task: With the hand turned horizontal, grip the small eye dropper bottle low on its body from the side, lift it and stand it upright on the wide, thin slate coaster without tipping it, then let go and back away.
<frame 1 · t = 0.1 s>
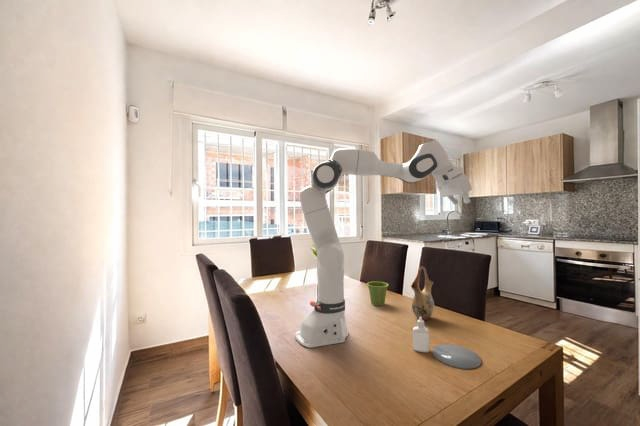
hand: (461, 203, 110), 54 cm above the table, tool tilted 30°, fingers open, 8 cm apart
plant pot: (378, 304, 147), on the table
ceramic vessel: (423, 319, 125), on the table
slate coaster: (456, 356, 91), on the table
eye dropper bottle: (421, 350, 96), on the table
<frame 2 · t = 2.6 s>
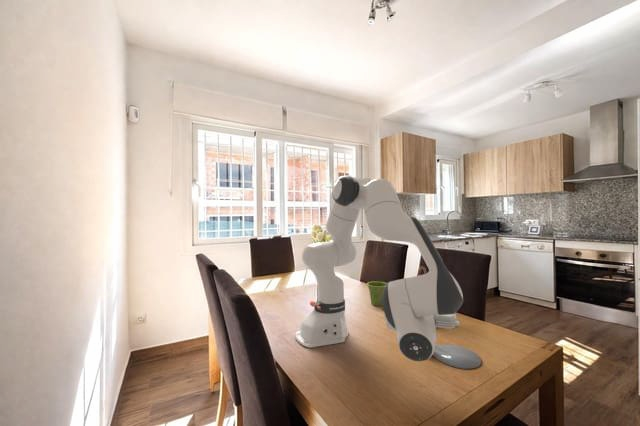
hand: (419, 305, 85), 20 cm above the table, tool horizontal, fingers open, 8 cm apart
nothing on the table moved.
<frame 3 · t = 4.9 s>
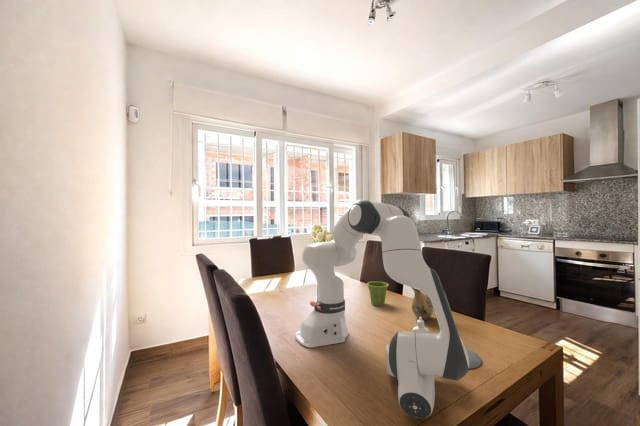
hand: (419, 346, 88), 5 cm above the table, tool horizontal, fingers open, 8 cm apart
nothing on the table moved.
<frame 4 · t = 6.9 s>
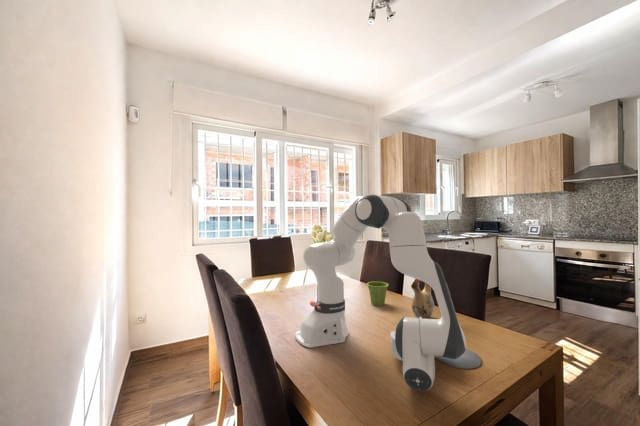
hand: (420, 333, 97), 6 cm above the table, tool horizontal, fingers open, 6 cm apart
eye dropper bottle: (421, 350, 96), on the table, touching gripper
everything else where it was.
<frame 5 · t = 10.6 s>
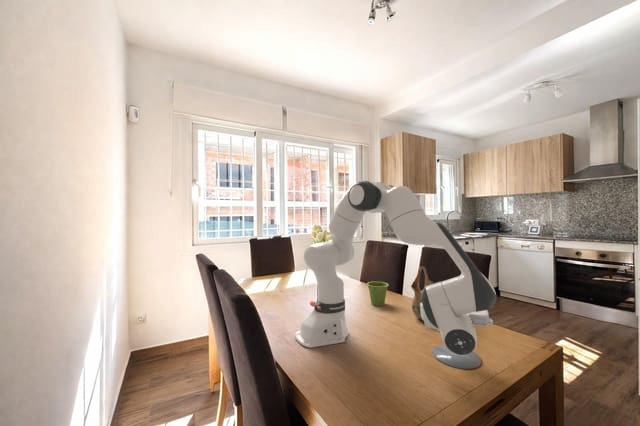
hand: (451, 305, 93), 17 cm above the table, tool horizontal, fingers closed on eye dropper bottle, 5 cm apart
eye dropper bottle: (453, 326, 91), point 11 cm above the table, touching gripper
everything else where it was.
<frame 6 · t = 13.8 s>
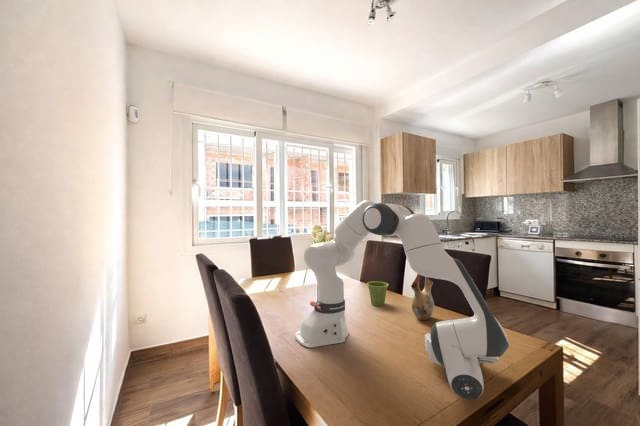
hand: (456, 336, 92), 7 cm above the table, tool horizontal, fingers closed on eye dropper bottle, 5 cm apart
eye dropper bottle: (458, 356, 91), resting on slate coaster, touching gripper
everything else where it was.
when the fingers open (7 cm above the table, at t = 13.8 s): eye dropper bottle stays where it is, resting on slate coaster.
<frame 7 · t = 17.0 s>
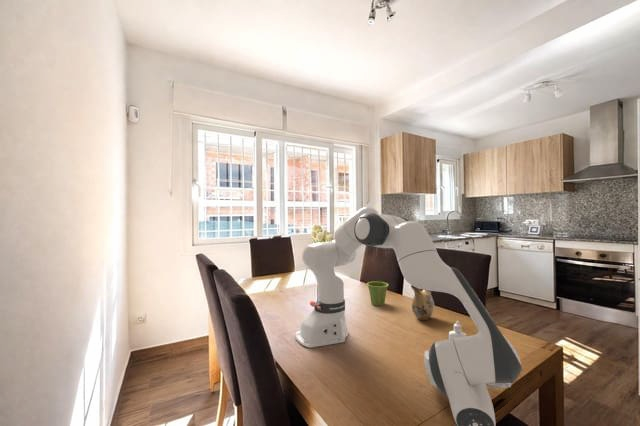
hand: (459, 353, 81), 7 cm above the table, tool horizontal, fingers open, 8 cm apart
eye dropper bottle: (458, 356, 91), resting on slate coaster
everything else where it was.
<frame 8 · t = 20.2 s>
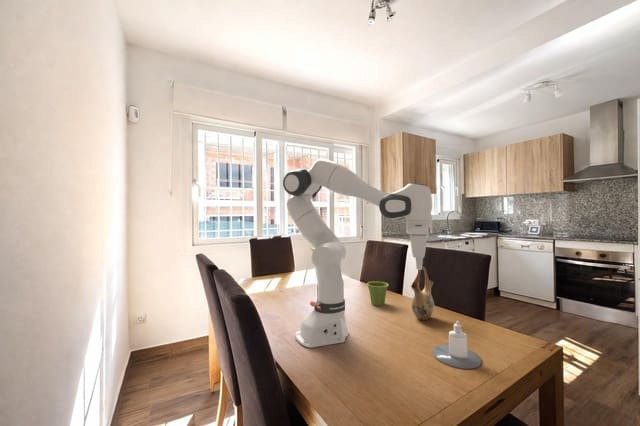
hand: (419, 266, 94), 31 cm above the table, tool pointing down, fingers open, 8 cm apart
nothing on the table moved.
at the end: eye dropper bottle 0.7 cm from the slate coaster (horizontally); eye dropper bottle tilted 0°; the gripper is holding nothing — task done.
